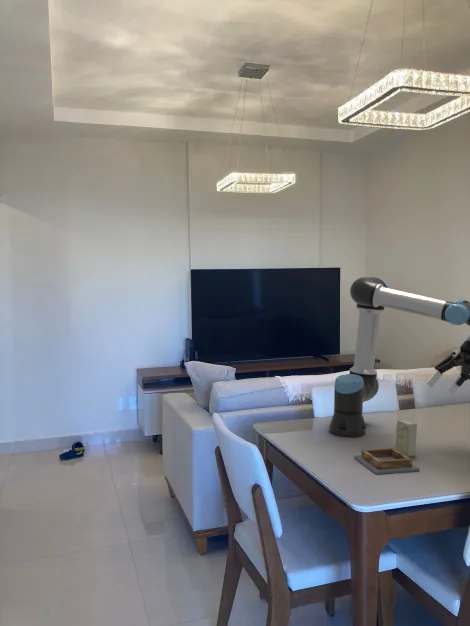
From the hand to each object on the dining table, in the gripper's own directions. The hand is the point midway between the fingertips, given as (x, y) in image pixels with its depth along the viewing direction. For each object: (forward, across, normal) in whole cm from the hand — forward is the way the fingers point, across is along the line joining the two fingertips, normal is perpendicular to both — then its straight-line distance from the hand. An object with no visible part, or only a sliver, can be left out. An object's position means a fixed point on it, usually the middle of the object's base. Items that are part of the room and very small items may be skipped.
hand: (439, 388), depth 201 cm
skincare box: (+27, 0, -7) cm, 27 cm away
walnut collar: (+35, -9, +3) cm, 37 cm away
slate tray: (+35, -9, +3) cm, 37 cm away
